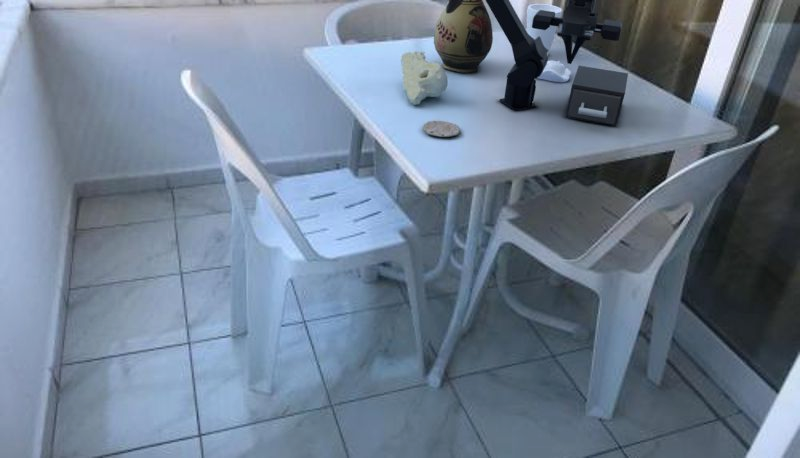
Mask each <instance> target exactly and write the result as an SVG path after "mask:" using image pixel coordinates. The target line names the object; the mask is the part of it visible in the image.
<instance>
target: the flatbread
mask: <svg viewBox="0 0 800 458" xmlns="http://www.w3.org/2000/svg"><path fill="white" fill-rule="evenodd" d="M422 129H423V131H424V132H425V133H426V134H427V135H429V136H435V137H441V138H450V137H455V136H458V135H459V134H460V127H459V126H458V124H456V123H453V122H449V121H445V120H430V121H427V122H426V123H425V124H423V127H422Z"/></svg>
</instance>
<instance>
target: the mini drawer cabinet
mask: <svg viewBox="0 0 800 458" xmlns="http://www.w3.org/2000/svg"><path fill="white" fill-rule="evenodd" d="M628 76H629V73H628V72H622V71H616V70H611V69H610V70H609V69H604V68H597V67H591V66H584V65H578V67H577V70H576V71H575V75H574V77H573V81H572V84H571V88H570V94H569V98H568V103H567V106H566V113H565V116H564V117H565V118H566V119H572V120H578V121H583V122H588V123H594V124H599V125H606V126H611V127H617V126H618V122H619V117H620V113H621V111H622V106H623V103H624V99H625V95H626V90H627V89H626V88H627V83H628ZM574 89H583V90H589V91H595V92H601V93H607V94H613V95H618V96H620V97H621V100H620V104H619V108H618V112H617V116H616V119H615V123H614V124H609V123H604V122H598V121H592V120H587V119H581V118H576V117H570V116H568V113H569V109H570V104H571V99H572V95H573V90H574Z"/></svg>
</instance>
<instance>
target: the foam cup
mask: <svg viewBox="0 0 800 458" xmlns="http://www.w3.org/2000/svg"><path fill="white" fill-rule="evenodd" d="M526 9H527V10H526V31H527V33H528V34H529V35H530V36H531V37H532V38H533V39H536V38H537V37H539V36H540V38H541V40H542V43H543V45H544V47H545V48H546V49H547V50H548V52H547V56H548V57H549V54H550V51H551V47H552V44H553V43H554V42H553V41H554V39H555V35H556V32H557V30H558V26H551V25H550V27H549V28H548V29H546V30H541V29H534V28H532V23H533V18H534V16H535V15H536V13H537V12H538V11H540V10H544V11H551V12H555V17H559V18H562V13H563V9H562V8H561V7H559V6H556V5H553V4H548V3H531V4H529V5H527V8H526Z"/></svg>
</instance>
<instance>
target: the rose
mask: <svg viewBox="0 0 800 458" xmlns="http://www.w3.org/2000/svg"><path fill="white" fill-rule="evenodd" d="M571 75H572V72H571V70H570V69H569V68H568V67H566V66H565V65H564V64H563V63H561V61H560V60H557V61H555V60H548V61H547V65H546V66H545V68H544V70H543V72H542V74H541V75H540V76H539V77H538V78H537V79H540V80H545V81H549V82H555V83H567V82H568V81H569V80H570V76H571Z"/></svg>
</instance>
